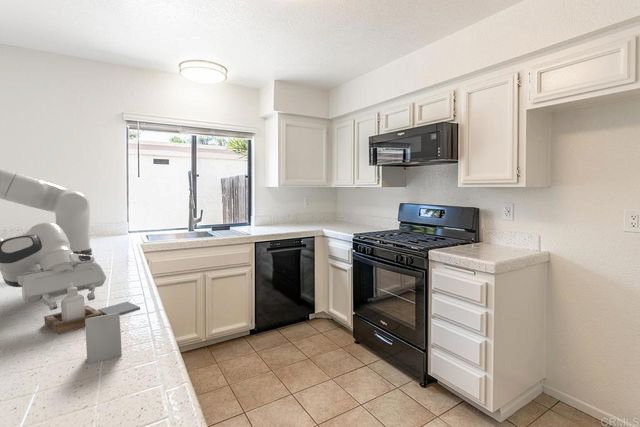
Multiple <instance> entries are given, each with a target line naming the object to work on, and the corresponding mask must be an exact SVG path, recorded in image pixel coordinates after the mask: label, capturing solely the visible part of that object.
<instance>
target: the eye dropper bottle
mask: <svg viewBox="0 0 640 427" xmlns="http://www.w3.org/2000/svg"><path fill="white" fill-rule="evenodd" d="M85 306H86V305H85V297H84V295H82V294H79V293H78V291H77V287H74V285H73V283H71V284H70V287H69V288H67V294H66V296H65V297H64V298H62V299H61V301H60V311H61V313H62V322H65V321H69V320H73V319H76V318H80V317H84V316H85Z"/></svg>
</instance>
